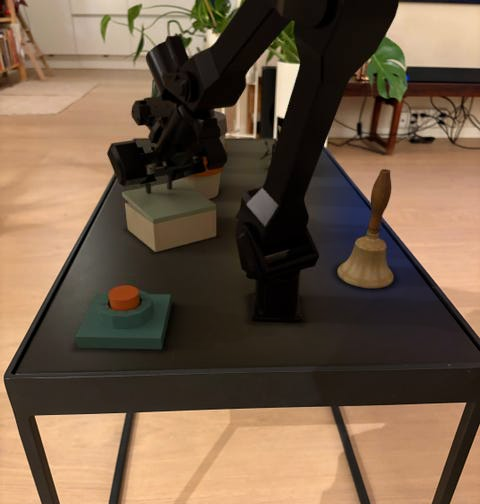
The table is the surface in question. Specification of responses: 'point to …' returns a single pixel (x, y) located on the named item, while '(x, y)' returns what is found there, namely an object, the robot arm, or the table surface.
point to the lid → (168, 199)
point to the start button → (124, 298)
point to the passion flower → (270, 151)
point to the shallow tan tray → (171, 229)
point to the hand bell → (371, 244)
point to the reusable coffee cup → (210, 178)
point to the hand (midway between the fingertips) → (155, 182)
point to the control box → (125, 323)
